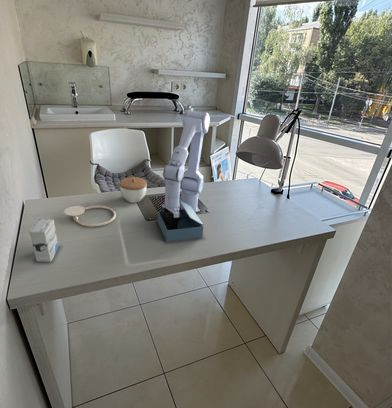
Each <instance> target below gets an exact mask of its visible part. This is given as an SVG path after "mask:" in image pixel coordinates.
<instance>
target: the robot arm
mask: <svg viewBox="0 0 392 408" xmlns="http://www.w3.org/2000/svg"><path fill="white" fill-rule="evenodd" d="M210 119H211V118H210V115H209V112H201V111H195V110H189V109H185V111H184V112H183V114H182V118H181V123H182V127H183V129H182V131H181V136H180V139H179V143H178V145H177V146H175V147H174V149H173V151H172V154H171V155H170V159H169V161H168V164H165V166H164V167H163V172H162V177H163V183H164V185H165V186H164V188H165V189H164V202H163V203H161V207H162V208H163V211H165V212H172V214H167V216H168V218H169V221H170V228H171V230H174V229H176V228H177V225H178V222H179V221H180V219H181V218H182V214H179V209H184V208H183V206H182V205H181V203H180V201H179V199H180V200H181V201H183V202H185V203H186V204H188V205H189V206H191V207H192V208H193V210H194V211H195V213H197V212H201V209H200V208H199V207H198V203H199V194H200V193H201V192H202V191H203V188H204V176H203V175H202V173H201V172H200V171H199V169H200V163H201V155H202V148H203V141H204V135H205V134H208V131H209V127H210V121H211V120H210ZM189 146H190V148H189ZM188 148H189V151H188ZM187 159H188V163H187V170H185V169H186V168H185V164H186V162H187Z"/></svg>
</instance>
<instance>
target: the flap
mask: <svg viewBox="0 0 392 408" xmlns="http://www.w3.org/2000/svg"><path fill="white" fill-rule="evenodd" d="M179 203H181V205H182V206H183V208H184V210H185V211H186V213H187V214H188V216H189V218H191V219H192V220H194V221H196V222H198V223H199V224H201V225H203V226H204V223H203V221H202V220H201V219H200V217H199V216H198V214H197V212H195V211H194V210H193V208H192V207H191V206H189V205H188V204H186V203H185V202H183V201H181V198H180V199H179Z"/></svg>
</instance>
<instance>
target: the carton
mask: <svg viewBox="0 0 392 408" xmlns="http://www.w3.org/2000/svg"><path fill="white" fill-rule="evenodd" d="M179 214H182V218H181V219H180V221H179V222H178V228H177V229H175V230H167V228H166V226H165V211H164V210H157V224H158V227H159V229H160V230H161V234H162V235H163V237H164V240H165V242H166V243H168V242H177V241H186V240H194V239H201V238H203V234H204V224H203V225H201V224H199V223H198V222H196V221H194V220H192V219H191V218H189V216H188V214H187V213H186V211H185V210H184V209H181V208H179Z"/></svg>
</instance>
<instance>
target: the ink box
mask: <svg viewBox="0 0 392 408" xmlns="http://www.w3.org/2000/svg"><path fill="white" fill-rule="evenodd" d="M54 221H55V220H54V219H41V218H40V219H38V220H37V221H36V223H35V224H34V226H33V227H32V228H31V230H29V236H30V240H31V244H32V248H33V252H34V256H35V260H36V262H44V263H45V262H46V263H47V262H48V263H49V262H50V263H51V262H52V261H53V259H54V257H55V255H56V253H57V251H58V249H59V242H58V237H57V231H56V226H55V222H54Z"/></svg>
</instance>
